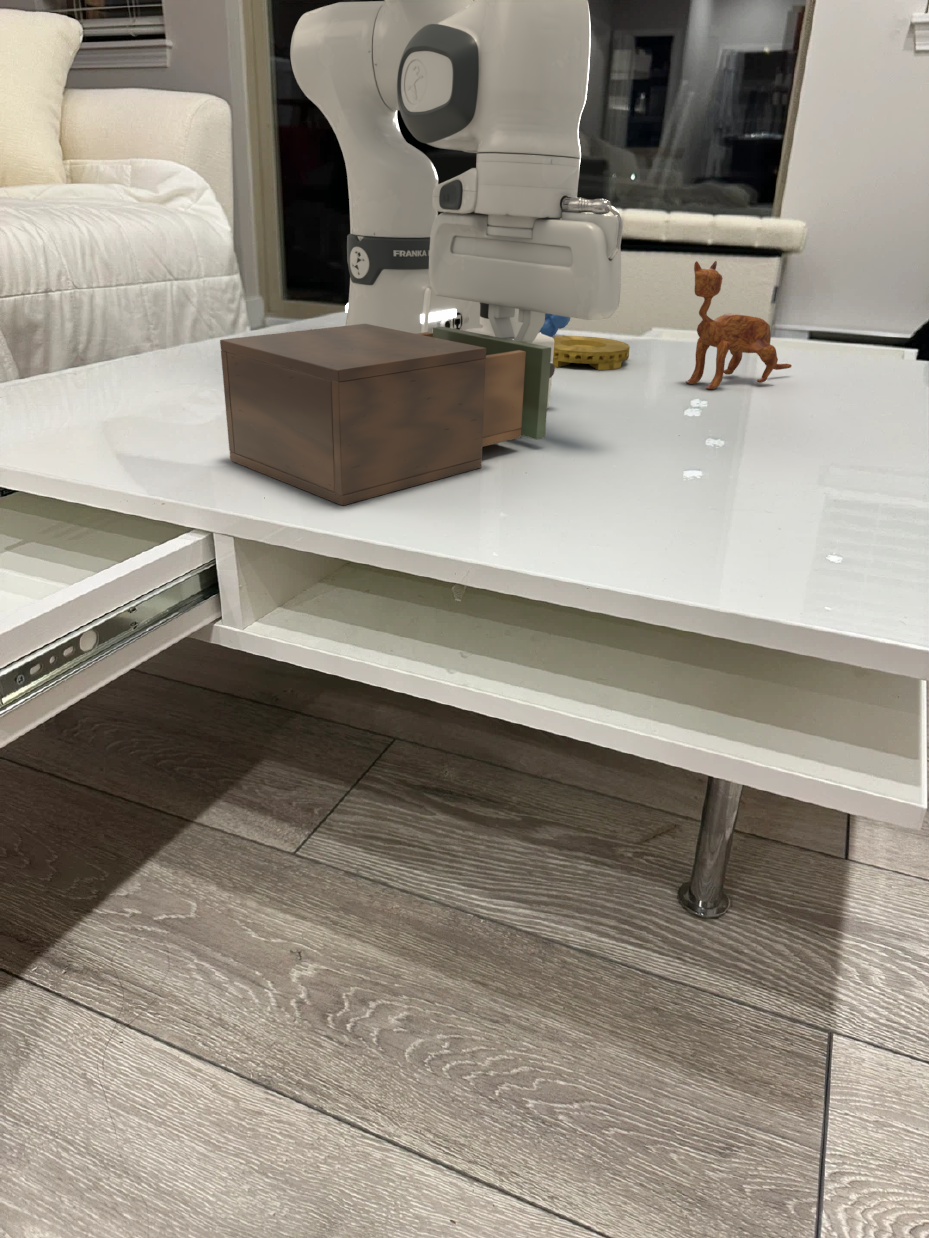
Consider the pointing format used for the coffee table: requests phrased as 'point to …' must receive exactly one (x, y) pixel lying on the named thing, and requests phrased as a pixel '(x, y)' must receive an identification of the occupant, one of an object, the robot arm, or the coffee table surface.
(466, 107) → the robot arm
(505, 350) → the drawer
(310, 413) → the cabinet
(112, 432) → the coffee table surface
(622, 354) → the golden round trivet
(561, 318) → the grapes
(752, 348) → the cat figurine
